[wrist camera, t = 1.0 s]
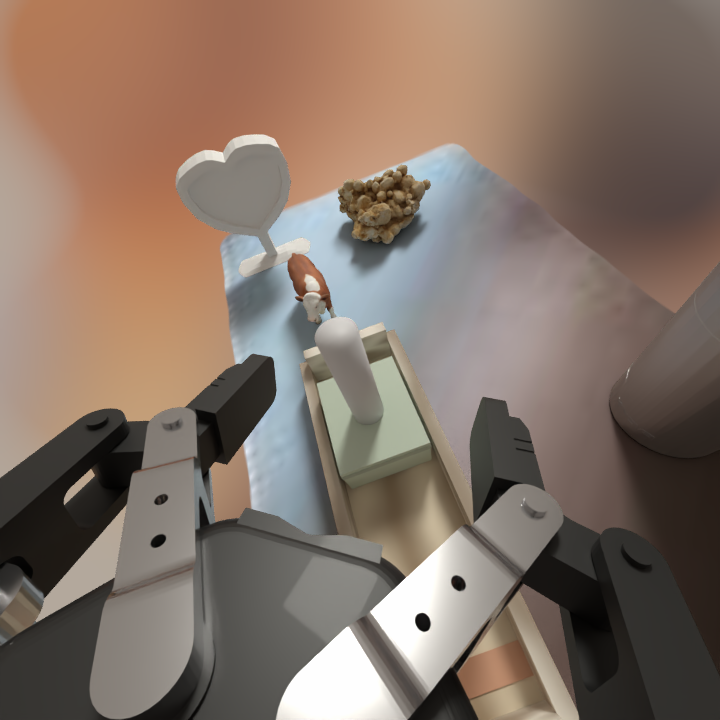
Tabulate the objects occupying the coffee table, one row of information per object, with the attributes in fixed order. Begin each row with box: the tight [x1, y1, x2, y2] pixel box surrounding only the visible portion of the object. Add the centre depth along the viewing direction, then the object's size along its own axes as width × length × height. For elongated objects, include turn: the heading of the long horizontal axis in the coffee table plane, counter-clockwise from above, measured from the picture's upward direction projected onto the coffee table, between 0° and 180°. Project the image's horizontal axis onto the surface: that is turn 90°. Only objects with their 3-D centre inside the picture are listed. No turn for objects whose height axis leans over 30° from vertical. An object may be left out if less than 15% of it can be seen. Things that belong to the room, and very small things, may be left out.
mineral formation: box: [338, 165, 431, 244], centre depth 55 cm, size 8×13×15 cm
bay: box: [300, 322, 579, 720], centre depth 31 cm, size 12×34×6 cm, turn 16°
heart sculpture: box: [176, 135, 310, 277], centre depth 52 cm, size 16×5×18 cm, turn 110°
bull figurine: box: [288, 253, 337, 324], centre depth 46 cm, size 4×13×8 cm, turn 19°
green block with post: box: [315, 317, 432, 489], centre depth 29 cm, size 8×10×17 cm
